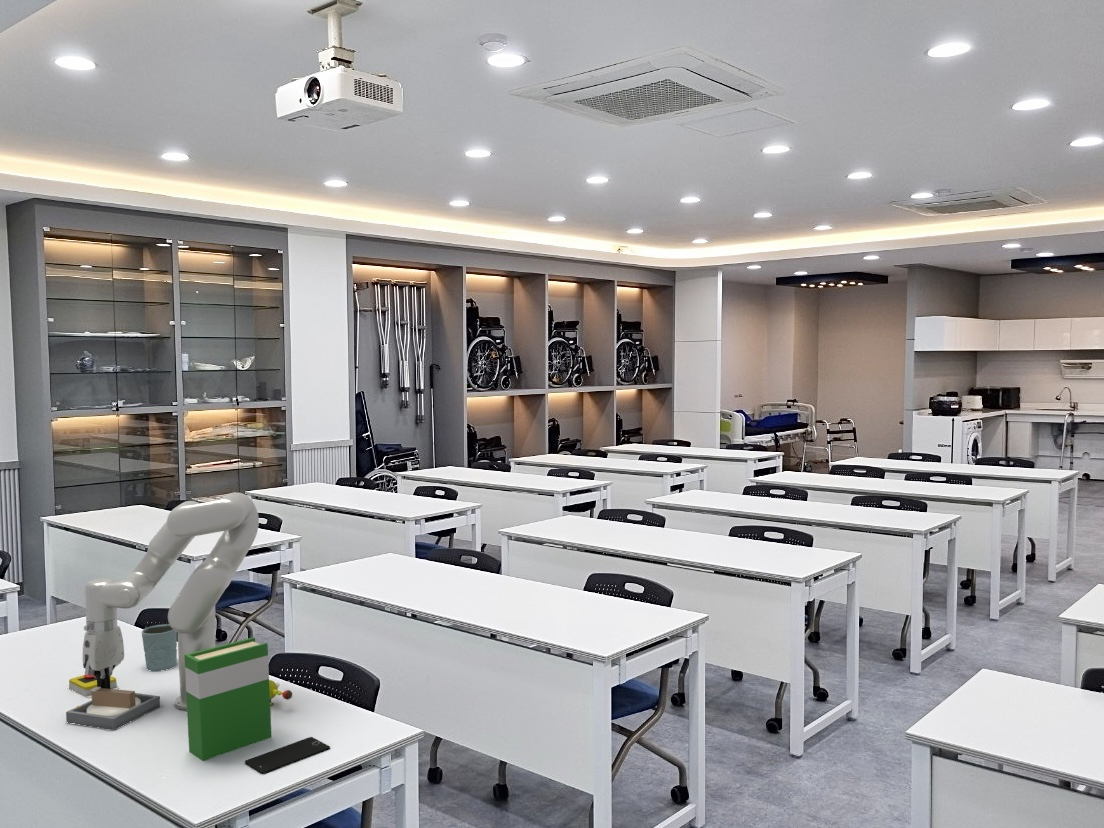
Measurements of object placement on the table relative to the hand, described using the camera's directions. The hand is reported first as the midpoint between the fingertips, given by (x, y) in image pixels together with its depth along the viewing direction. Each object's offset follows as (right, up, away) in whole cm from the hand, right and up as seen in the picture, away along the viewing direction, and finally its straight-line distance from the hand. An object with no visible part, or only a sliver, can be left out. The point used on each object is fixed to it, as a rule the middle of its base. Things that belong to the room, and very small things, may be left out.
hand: (103, 690), depth 244 cm
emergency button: (-11, -5, +17) cm, 21 cm away
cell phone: (+59, -7, -31) cm, 67 cm away
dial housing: (+5, -5, -4) cm, 8 cm away
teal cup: (+1, -3, +34) cm, 34 cm away
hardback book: (+43, -6, -24) cm, 50 cm away
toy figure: (+45, -4, +1) cm, 45 cm away
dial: (+5, -4, -4) cm, 7 cm away
